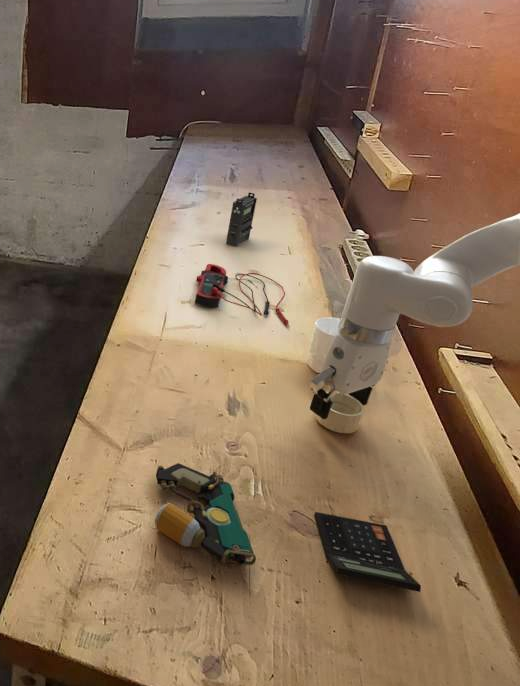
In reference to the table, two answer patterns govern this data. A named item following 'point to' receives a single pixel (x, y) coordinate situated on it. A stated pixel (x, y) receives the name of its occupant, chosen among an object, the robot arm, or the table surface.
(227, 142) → the table surface
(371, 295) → the robot arm
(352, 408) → the bowl
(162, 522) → the spray gun
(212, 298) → the digital clamp meter
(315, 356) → the white cup
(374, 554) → the calculator
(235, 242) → the geiger counter
